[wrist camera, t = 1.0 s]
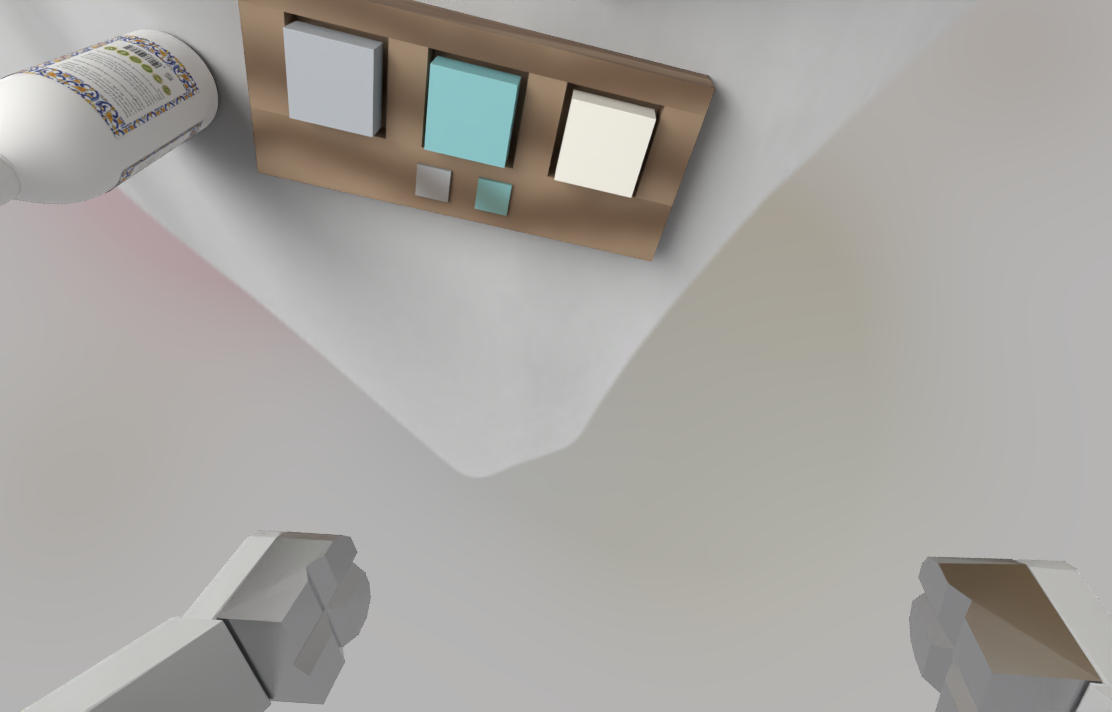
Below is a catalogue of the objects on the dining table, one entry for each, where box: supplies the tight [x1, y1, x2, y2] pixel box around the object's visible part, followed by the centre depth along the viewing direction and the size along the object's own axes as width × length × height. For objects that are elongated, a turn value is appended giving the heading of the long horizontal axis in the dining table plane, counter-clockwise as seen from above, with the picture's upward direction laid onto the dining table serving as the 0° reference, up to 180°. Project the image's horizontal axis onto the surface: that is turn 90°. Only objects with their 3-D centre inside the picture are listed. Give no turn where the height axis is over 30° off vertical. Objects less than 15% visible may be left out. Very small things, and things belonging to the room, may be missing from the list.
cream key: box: [554, 89, 656, 198], centre depth 40 cm, size 6×6×2 cm
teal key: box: [424, 56, 521, 168], centre depth 40 cm, size 6×6×2 cm
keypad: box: [238, 0, 715, 261], centre depth 42 cm, size 13×30×3 cm, turn 78°
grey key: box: [283, 21, 383, 137], centre depth 39 cm, size 6×6×2 cm
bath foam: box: [0, 29, 218, 206], centre depth 35 cm, size 7×7×20 cm
